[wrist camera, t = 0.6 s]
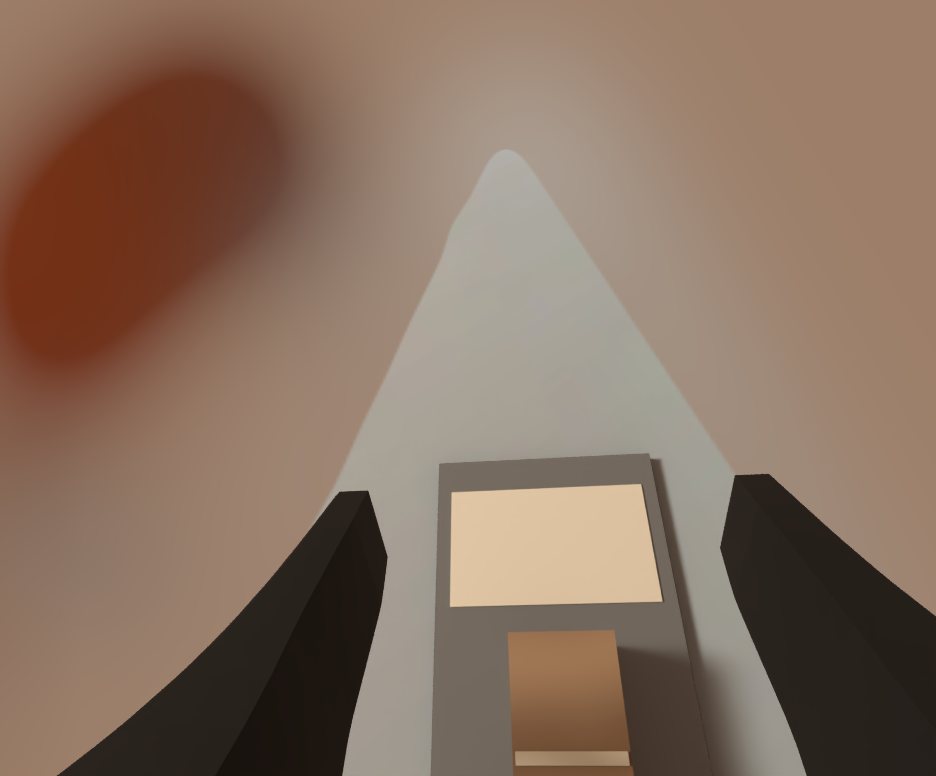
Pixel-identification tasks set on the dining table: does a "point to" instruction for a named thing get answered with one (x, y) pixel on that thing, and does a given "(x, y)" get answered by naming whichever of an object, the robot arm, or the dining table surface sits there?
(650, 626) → the mat
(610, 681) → the brown rectangular block
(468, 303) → the dining table surface
